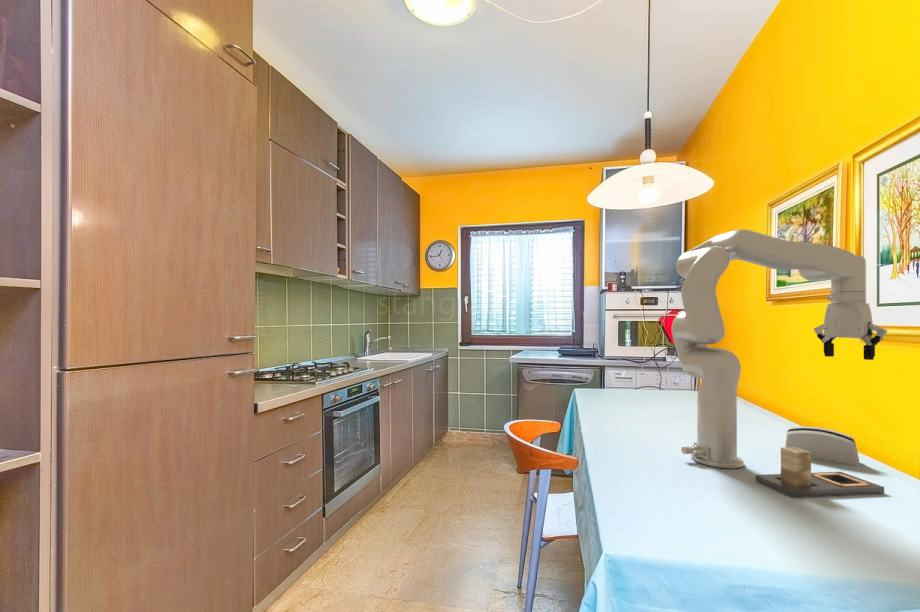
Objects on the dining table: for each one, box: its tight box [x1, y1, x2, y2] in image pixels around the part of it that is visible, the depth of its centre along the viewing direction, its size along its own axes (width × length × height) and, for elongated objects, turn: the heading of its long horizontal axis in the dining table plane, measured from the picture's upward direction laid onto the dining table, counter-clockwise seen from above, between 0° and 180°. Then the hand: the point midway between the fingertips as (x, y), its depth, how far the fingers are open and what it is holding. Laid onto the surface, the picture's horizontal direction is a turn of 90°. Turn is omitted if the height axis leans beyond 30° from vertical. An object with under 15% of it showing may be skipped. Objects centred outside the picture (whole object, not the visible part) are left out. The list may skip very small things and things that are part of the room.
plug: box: [780, 446, 812, 487], centre depth 102 cm, size 4×4×9 cm
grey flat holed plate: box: [755, 471, 885, 499], centre depth 103 cm, size 24×10×2 cm, turn 98°
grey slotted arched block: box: [784, 426, 860, 466], centre depth 125 cm, size 17×5×10 cm, turn 47°
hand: (848, 357), depth 125 cm, fingers open, 9 cm apart
